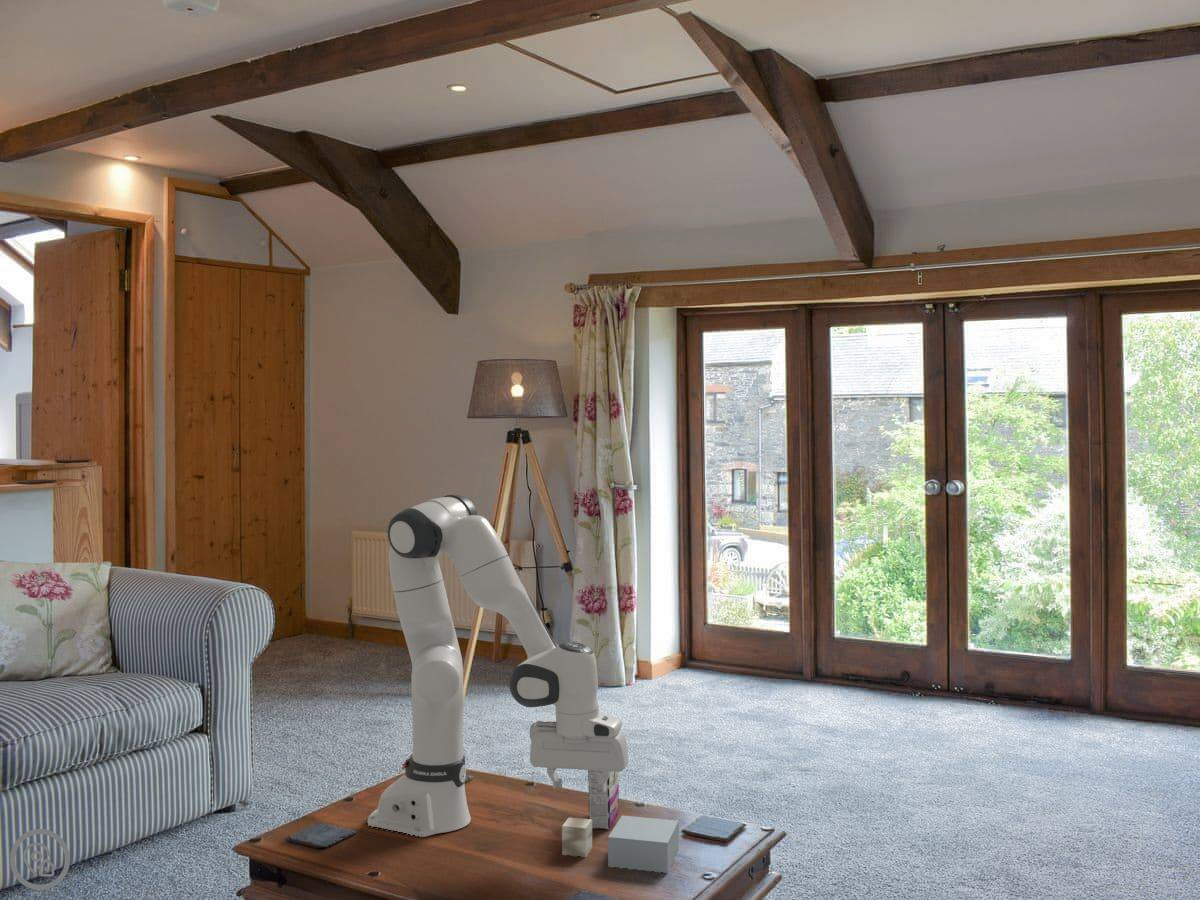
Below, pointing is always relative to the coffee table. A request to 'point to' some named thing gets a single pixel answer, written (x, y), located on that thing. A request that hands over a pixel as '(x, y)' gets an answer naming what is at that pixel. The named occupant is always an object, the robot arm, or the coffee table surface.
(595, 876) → the coffee table surface
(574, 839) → the cream block
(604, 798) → the candy bar box
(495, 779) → the coffee table surface
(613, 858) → the slate block
